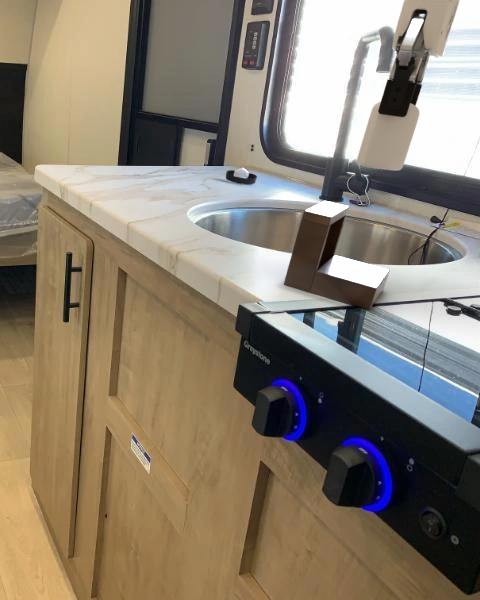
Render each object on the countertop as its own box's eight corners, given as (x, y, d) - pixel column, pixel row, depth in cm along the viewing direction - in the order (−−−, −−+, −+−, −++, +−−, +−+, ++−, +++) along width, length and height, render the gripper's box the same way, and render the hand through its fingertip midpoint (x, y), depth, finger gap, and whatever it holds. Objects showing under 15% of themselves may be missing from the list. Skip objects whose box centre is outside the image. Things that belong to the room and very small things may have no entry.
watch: (254, 183, 154) (258, 169, 153) (255, 186, 150) (258, 172, 149) (224, 178, 155) (227, 164, 154) (224, 181, 151) (227, 167, 150)
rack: (383, 289, 84) (407, 219, 80) (369, 310, 75) (395, 232, 71) (304, 267, 89) (324, 200, 85) (283, 284, 80) (303, 210, 77)
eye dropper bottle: (355, 161, 81) (383, 67, 76) (400, 169, 79) (431, 73, 75) (355, 165, 77) (384, 66, 73) (402, 173, 75) (435, 72, 71)
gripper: (479, -65, 60) (419, 121, 67) (485, -33, 74) (434, 119, 80) (399, -66, 64) (349, 110, 71) (419, -36, 77) (375, 110, 84)
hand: (395, 113), depth 76 cm, fingers closed on eye dropper bottle, 4 cm apart
